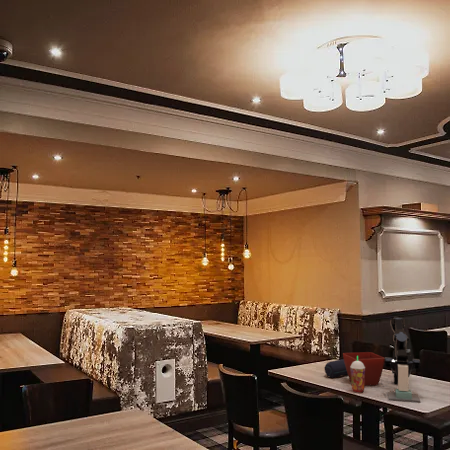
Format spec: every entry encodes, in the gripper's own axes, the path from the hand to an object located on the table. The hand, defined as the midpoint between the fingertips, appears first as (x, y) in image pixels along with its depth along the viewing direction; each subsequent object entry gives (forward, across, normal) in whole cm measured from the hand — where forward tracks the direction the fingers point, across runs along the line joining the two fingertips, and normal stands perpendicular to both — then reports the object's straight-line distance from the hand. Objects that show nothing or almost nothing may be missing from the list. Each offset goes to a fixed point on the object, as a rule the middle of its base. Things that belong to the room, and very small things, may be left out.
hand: (403, 376), depth 266 cm
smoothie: (+2, -24, +15) cm, 28 cm away
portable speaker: (-24, -36, +42) cm, 60 cm away
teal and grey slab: (+8, 0, +9) cm, 12 cm away
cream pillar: (+4, 0, +6) cm, 8 cm away
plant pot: (-12, -21, +30) cm, 38 cm away
